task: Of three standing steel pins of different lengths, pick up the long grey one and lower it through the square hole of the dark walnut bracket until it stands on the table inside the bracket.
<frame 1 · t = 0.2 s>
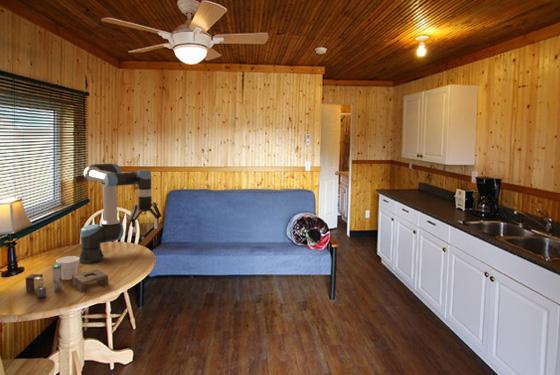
hand: (145, 230, 230), 28 cm above the table, fingers open, 13 cm apart
medium pin: (39, 292, 204), on the table
long pin: (58, 290, 207), on the table
short pin: (41, 297, 198), on the table
box: (34, 289, 209), on the table
bracket: (90, 285, 215), on the table
cup: (68, 277, 226), on the table
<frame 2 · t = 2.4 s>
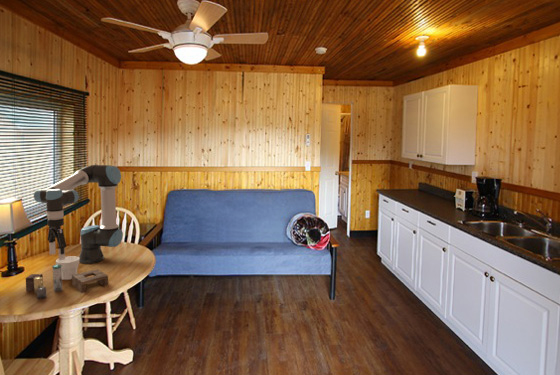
hand: (57, 256, 205), 19 cm above the table, fingers open, 13 cm apart
nothing on the table moved.
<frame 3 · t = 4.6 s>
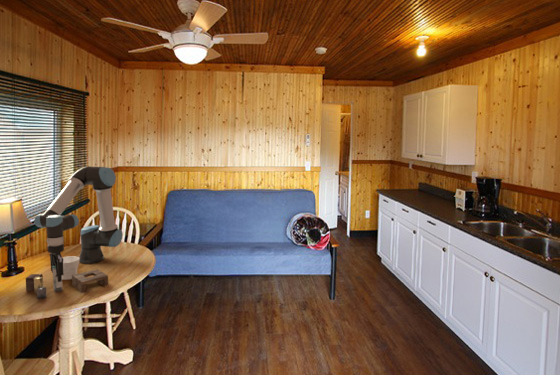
hand: (57, 285, 207), 3 cm above the table, fingers closed on long pin, 4 cm apart
long pin: (58, 290, 207), on the table, touching gripper
everything else where it was.
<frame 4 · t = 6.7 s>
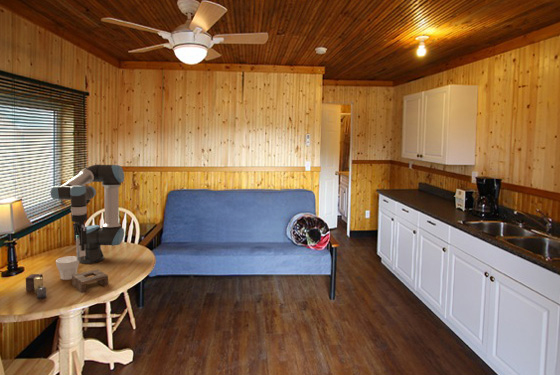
hand: (81, 254, 211), 18 cm above the table, fingers closed on long pin, 4 cm apart
long pin: (81, 259, 211), point 16 cm above the table, touching gripper
everything else where it was.
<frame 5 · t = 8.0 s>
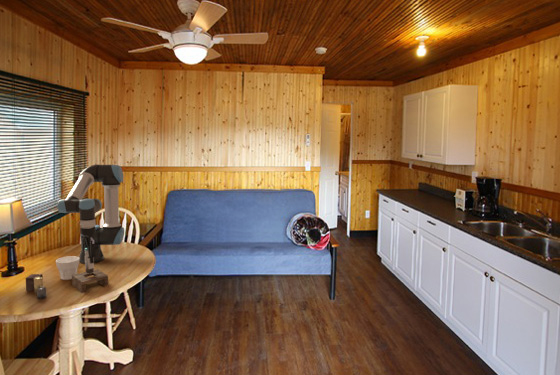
hand: (89, 267, 214), 11 cm above the table, fingers closed on long pin, 4 cm apart
long pin: (89, 271, 214), point 8 cm above the table, touching gripper
everything else where it was.
when the fingers open (7 cm above the table, at t = 9.0 s): long pin drops 3 cm, on the table.
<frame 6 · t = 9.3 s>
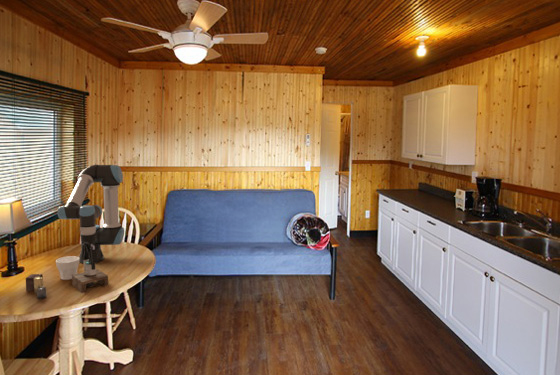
hand: (89, 272, 214), 7 cm above the table, fingers open, 8 cm apart
long pin: (90, 285, 215), on the table
everything else where it was.
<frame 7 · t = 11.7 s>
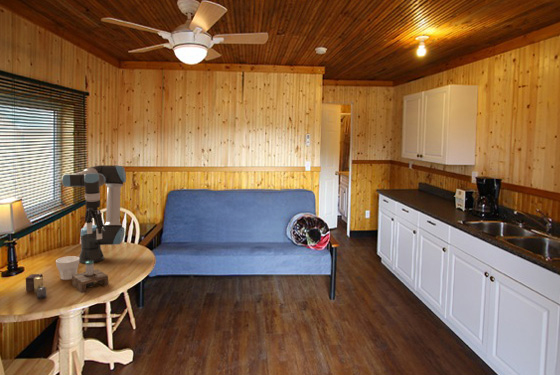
hand: (94, 236, 219), 27 cm above the table, fingers open, 13 cm apart
nothing on the table moved.
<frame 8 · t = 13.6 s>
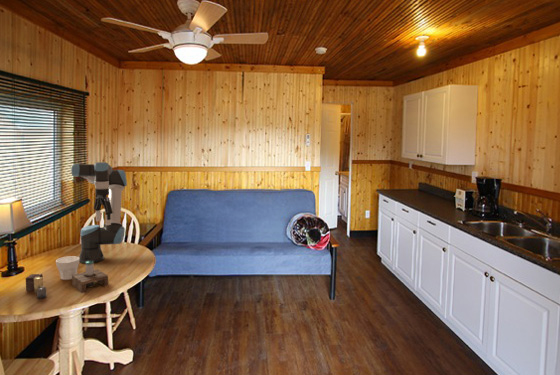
hand: (103, 223, 230), 32 cm above the table, fingers open, 13 cm apart
nothing on the table moved.
at the end: long pin 0.0 cm off-centre on the bracket, point 0.0 cm above the bracket's base; long pin tilted 0°; the gripper is holding nothing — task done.
